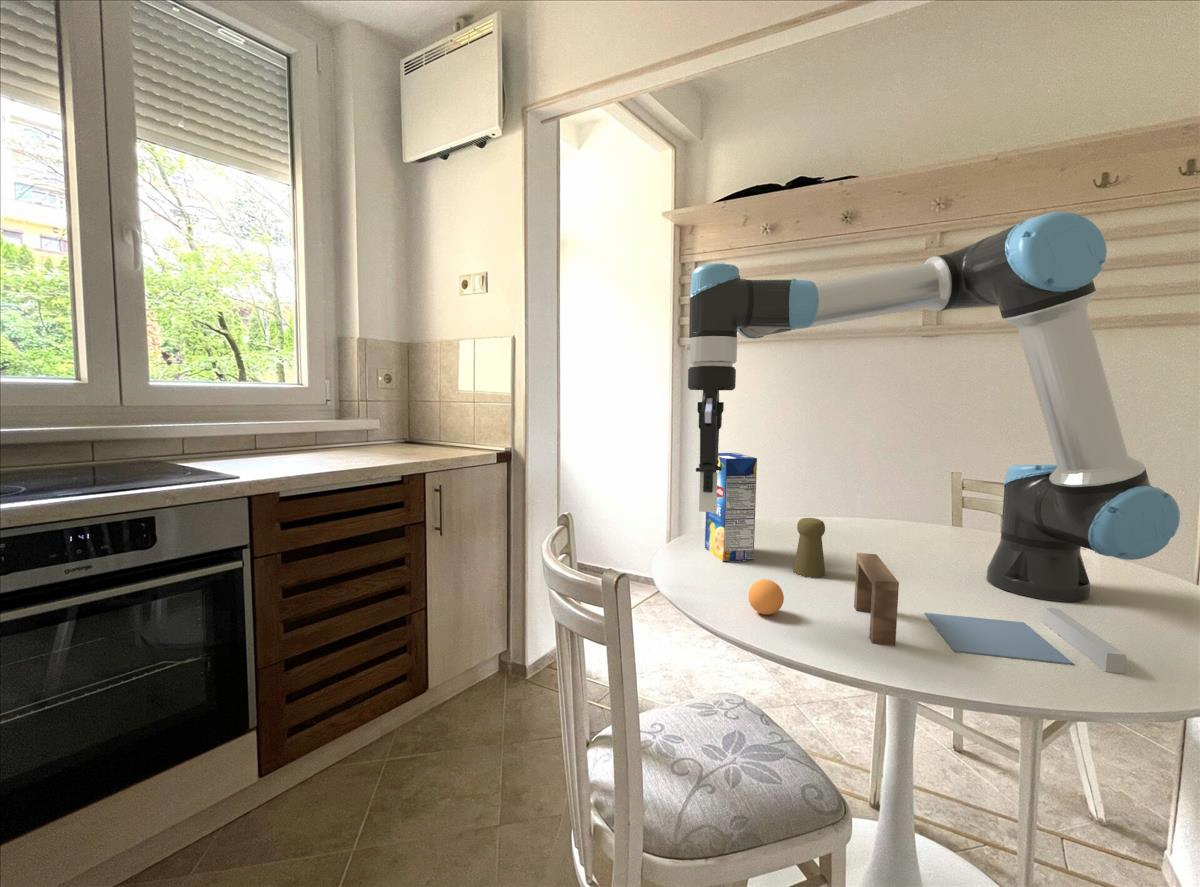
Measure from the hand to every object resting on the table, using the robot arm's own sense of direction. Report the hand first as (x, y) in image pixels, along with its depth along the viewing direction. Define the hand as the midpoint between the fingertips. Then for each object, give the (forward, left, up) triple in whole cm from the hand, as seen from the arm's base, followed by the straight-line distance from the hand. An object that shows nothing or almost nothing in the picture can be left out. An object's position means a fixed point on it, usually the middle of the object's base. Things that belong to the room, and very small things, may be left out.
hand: (707, 510), depth 92 cm
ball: (-10, 0, -14) cm, 17 cm away
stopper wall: (-53, 0, -16) cm, 55 cm away
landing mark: (-42, 0, -16) cm, 45 cm away
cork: (-19, -24, -17) cm, 35 cm away
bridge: (-26, 0, -16) cm, 30 cm away
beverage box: (-3, -33, -17) cm, 37 cm away
